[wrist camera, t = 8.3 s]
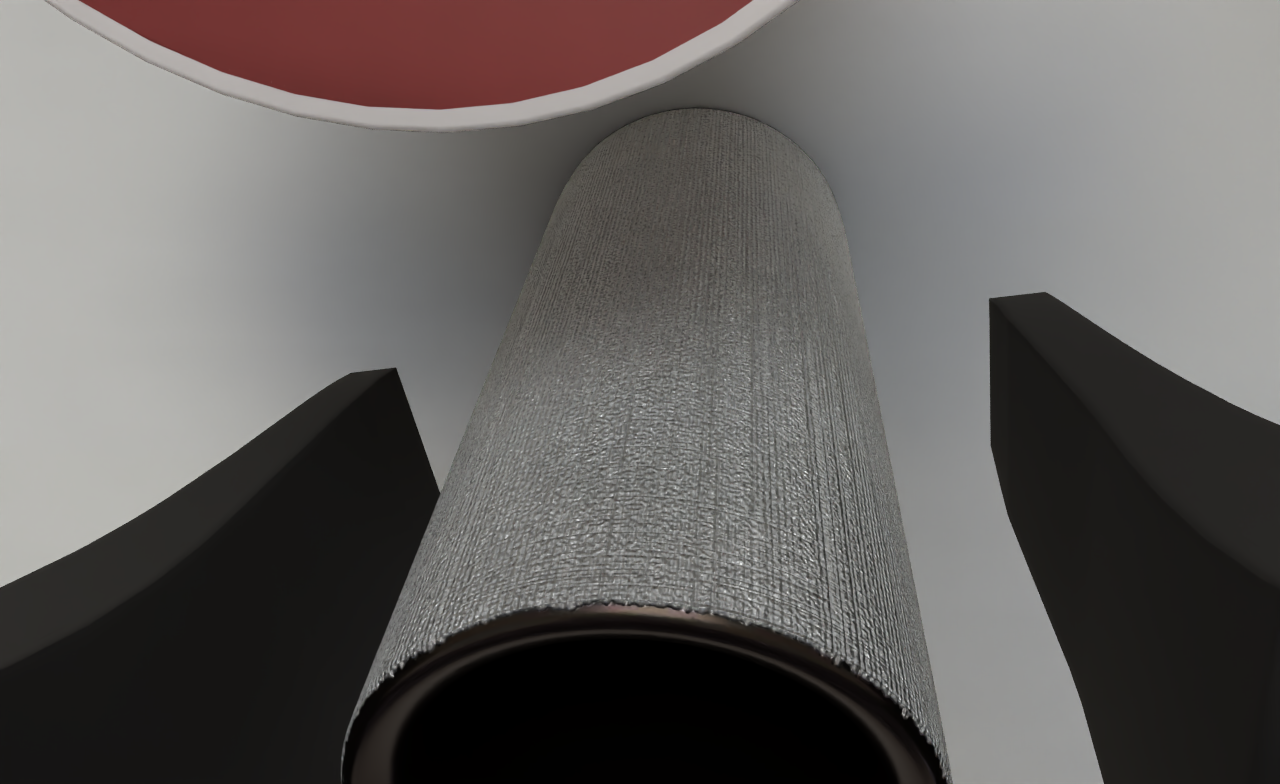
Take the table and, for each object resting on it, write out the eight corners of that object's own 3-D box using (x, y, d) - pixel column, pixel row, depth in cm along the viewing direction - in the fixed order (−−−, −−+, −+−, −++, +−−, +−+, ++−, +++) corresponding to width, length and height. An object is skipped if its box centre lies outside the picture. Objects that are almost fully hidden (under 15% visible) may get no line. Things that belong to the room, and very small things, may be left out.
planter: (533, 341, 17) (324, 944, 9) (576, 73, 15) (345, 545, 6) (799, 397, 18) (849, 1045, 9) (883, 140, 15) (1066, 689, 7)
